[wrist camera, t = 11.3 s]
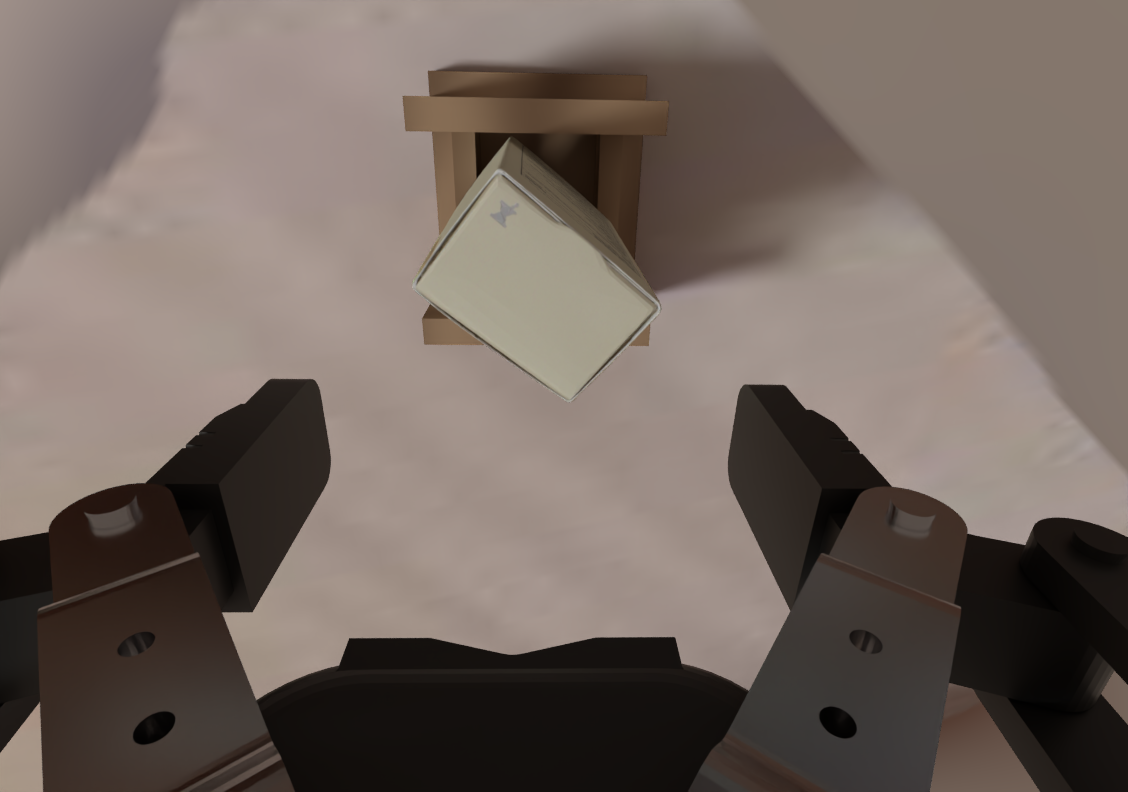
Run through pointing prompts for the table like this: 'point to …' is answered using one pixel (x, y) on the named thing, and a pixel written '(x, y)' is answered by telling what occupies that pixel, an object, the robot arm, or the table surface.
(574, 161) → the stand
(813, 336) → the table surface
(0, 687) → the robot arm
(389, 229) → the table surface
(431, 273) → the skincare box
